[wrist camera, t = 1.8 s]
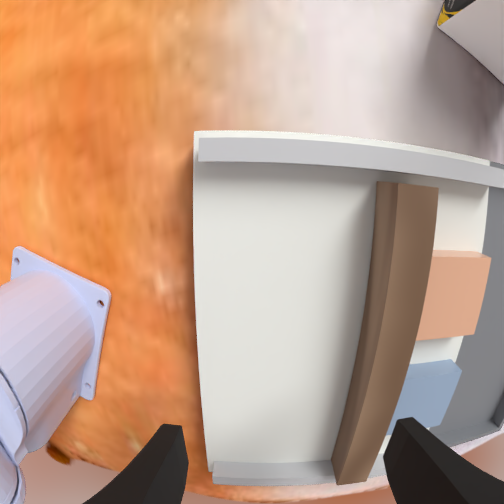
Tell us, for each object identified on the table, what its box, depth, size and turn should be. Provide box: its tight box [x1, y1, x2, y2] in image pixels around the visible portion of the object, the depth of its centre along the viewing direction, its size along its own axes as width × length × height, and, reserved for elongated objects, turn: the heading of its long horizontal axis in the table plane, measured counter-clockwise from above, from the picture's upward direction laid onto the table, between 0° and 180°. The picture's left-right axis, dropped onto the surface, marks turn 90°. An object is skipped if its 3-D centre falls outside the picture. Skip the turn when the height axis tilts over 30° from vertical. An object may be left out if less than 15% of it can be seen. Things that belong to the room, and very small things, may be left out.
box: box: [429, 161, 504, 447], centre depth 17 cm, size 10×22×2 cm, turn 179°
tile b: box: [386, 359, 462, 436], centre depth 16 cm, size 4×4×2 cm
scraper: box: [331, 181, 439, 485], centre depth 15 cm, size 2×18×2 cm, turn 179°
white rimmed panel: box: [193, 131, 504, 486], centre depth 17 cm, size 16×22×4 cm
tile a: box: [416, 250, 491, 341], centre depth 15 cm, size 4×4×2 cm
